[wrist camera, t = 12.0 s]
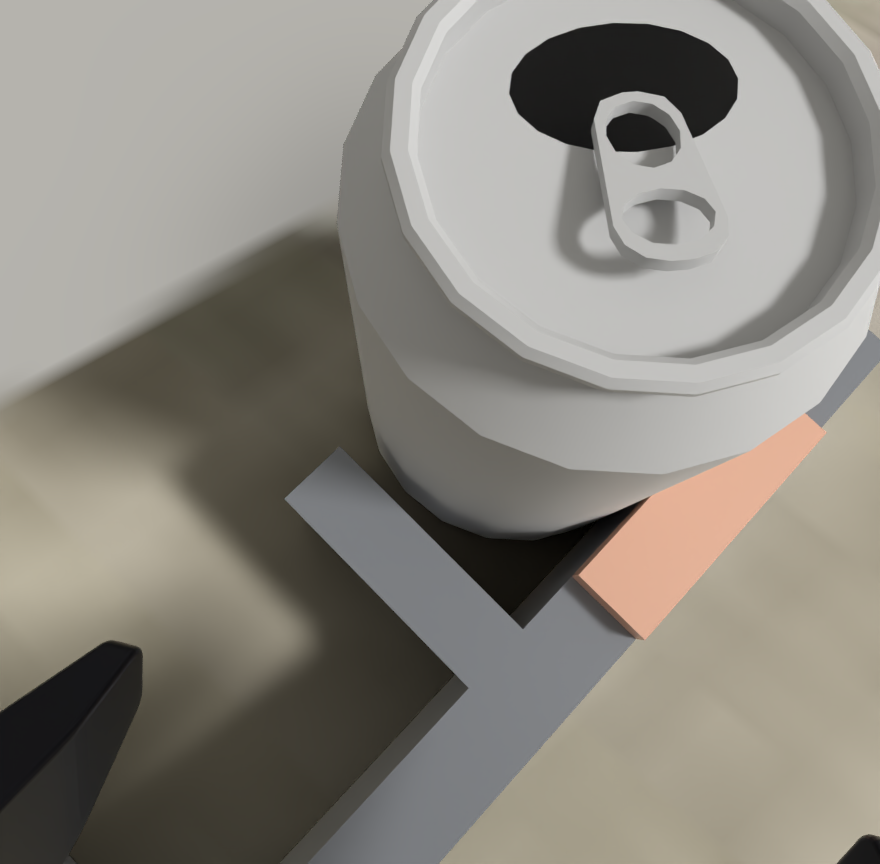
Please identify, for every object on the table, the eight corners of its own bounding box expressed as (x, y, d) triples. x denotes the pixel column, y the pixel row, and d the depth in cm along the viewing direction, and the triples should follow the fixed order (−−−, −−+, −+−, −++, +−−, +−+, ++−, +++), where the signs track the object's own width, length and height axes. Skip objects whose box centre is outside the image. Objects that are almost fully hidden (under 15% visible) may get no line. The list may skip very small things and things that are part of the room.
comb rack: (160, 1116, 16) (83, 1282, 12) (-51, 859, 17) (-189, 936, 13) (812, 389, 21) (910, 336, 17) (617, 217, 22) (667, 128, 18)
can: (623, 263, 21) (890, -155, 10) (670, 528, 20) (1061, 411, 8) (357, 285, 21) (299, -130, 9) (382, 559, 19) (351, 482, 7)
